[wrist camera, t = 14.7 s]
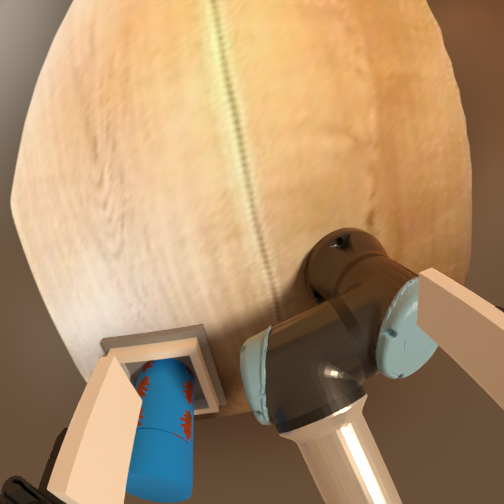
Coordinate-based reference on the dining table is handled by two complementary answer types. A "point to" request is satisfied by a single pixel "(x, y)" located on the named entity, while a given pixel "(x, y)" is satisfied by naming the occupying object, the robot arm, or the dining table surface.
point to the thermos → (163, 433)
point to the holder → (176, 347)
